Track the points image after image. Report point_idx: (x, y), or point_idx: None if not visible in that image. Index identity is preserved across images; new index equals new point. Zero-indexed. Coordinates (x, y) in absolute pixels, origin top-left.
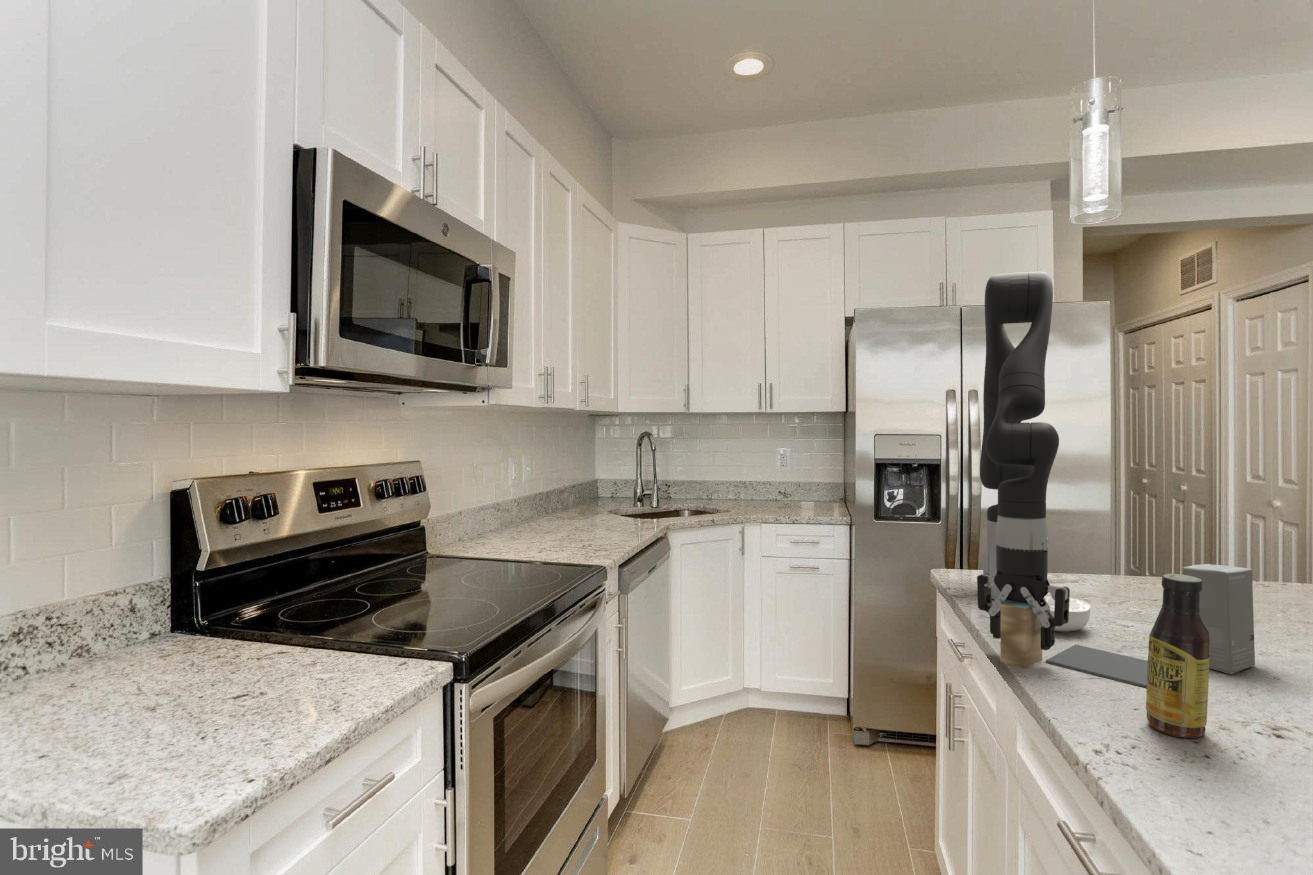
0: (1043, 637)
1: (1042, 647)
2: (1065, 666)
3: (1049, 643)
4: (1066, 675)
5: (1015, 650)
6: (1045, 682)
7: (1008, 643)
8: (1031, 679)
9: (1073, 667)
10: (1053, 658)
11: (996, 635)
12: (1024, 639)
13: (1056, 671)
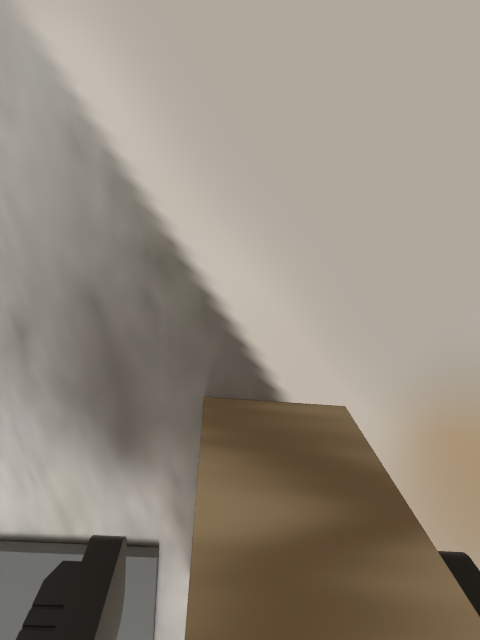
0: (75, 612)
1: (109, 543)
2: (58, 547)
3: (51, 587)
4: (5, 435)
5: (272, 449)
6: (33, 241)
7: (329, 473)
8: (110, 234)
9: (15, 550)
10: (139, 604)
11: (448, 563)
12: (207, 508)
13: (67, 458)
